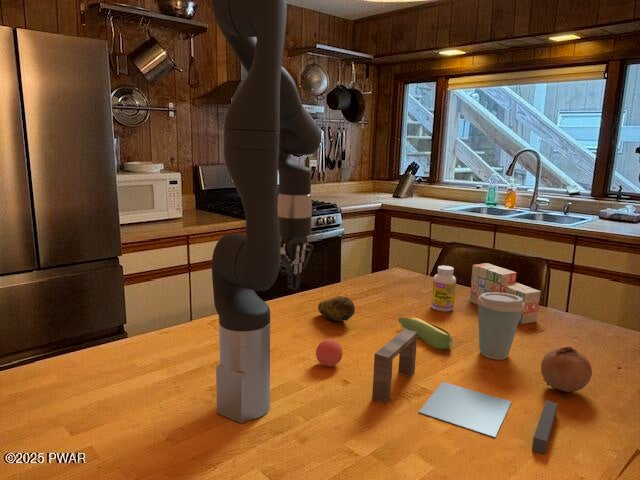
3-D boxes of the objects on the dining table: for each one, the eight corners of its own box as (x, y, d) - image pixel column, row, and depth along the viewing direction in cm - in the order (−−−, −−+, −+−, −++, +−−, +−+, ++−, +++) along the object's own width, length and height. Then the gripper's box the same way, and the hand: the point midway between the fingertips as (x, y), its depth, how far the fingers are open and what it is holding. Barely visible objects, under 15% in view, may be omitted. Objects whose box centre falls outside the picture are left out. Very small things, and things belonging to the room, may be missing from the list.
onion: (560, 405, 97) (566, 358, 95) (528, 382, 106) (533, 339, 104) (599, 400, 100) (606, 354, 97) (565, 377, 108) (571, 335, 106)
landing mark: (495, 438, 86) (495, 437, 86) (418, 412, 93) (418, 411, 93) (511, 402, 98) (511, 401, 98) (442, 382, 105) (442, 381, 105)
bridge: (386, 403, 96) (388, 357, 94) (372, 398, 98) (374, 353, 96) (414, 373, 109) (417, 332, 106) (401, 369, 110) (404, 328, 108)
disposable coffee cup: (462, 348, 122) (468, 290, 119) (497, 342, 126) (504, 286, 123) (491, 367, 112) (498, 304, 109) (528, 360, 116) (536, 300, 113)
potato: (343, 312, 145) (344, 286, 143) (357, 329, 132) (359, 300, 131) (315, 314, 142) (316, 287, 141) (327, 331, 130) (328, 302, 129)
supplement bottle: (430, 310, 148) (433, 269, 145) (431, 303, 154) (434, 263, 151) (453, 313, 146) (456, 271, 143) (453, 306, 152) (457, 265, 149)
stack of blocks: (537, 322, 141) (542, 280, 139) (521, 325, 139) (526, 283, 136) (483, 298, 160) (487, 262, 158) (468, 301, 158) (472, 264, 155)
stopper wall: (544, 454, 82) (546, 441, 81) (531, 450, 83) (533, 437, 82) (555, 415, 94) (557, 403, 93) (544, 412, 95) (546, 400, 94)
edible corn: (441, 355, 118) (443, 338, 117) (393, 326, 136) (394, 310, 135) (458, 352, 121) (459, 334, 120) (408, 323, 138) (409, 308, 137)
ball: (333, 374, 107) (334, 348, 106) (310, 366, 110) (311, 341, 109) (346, 363, 112) (347, 339, 111) (324, 356, 115) (325, 332, 114)
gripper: (291, 219, 102) (290, 299, 106) (324, 211, 113) (322, 284, 117) (262, 215, 106) (262, 293, 109) (297, 208, 117) (296, 278, 120)
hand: (293, 288), depth 113 cm, fingers closed
